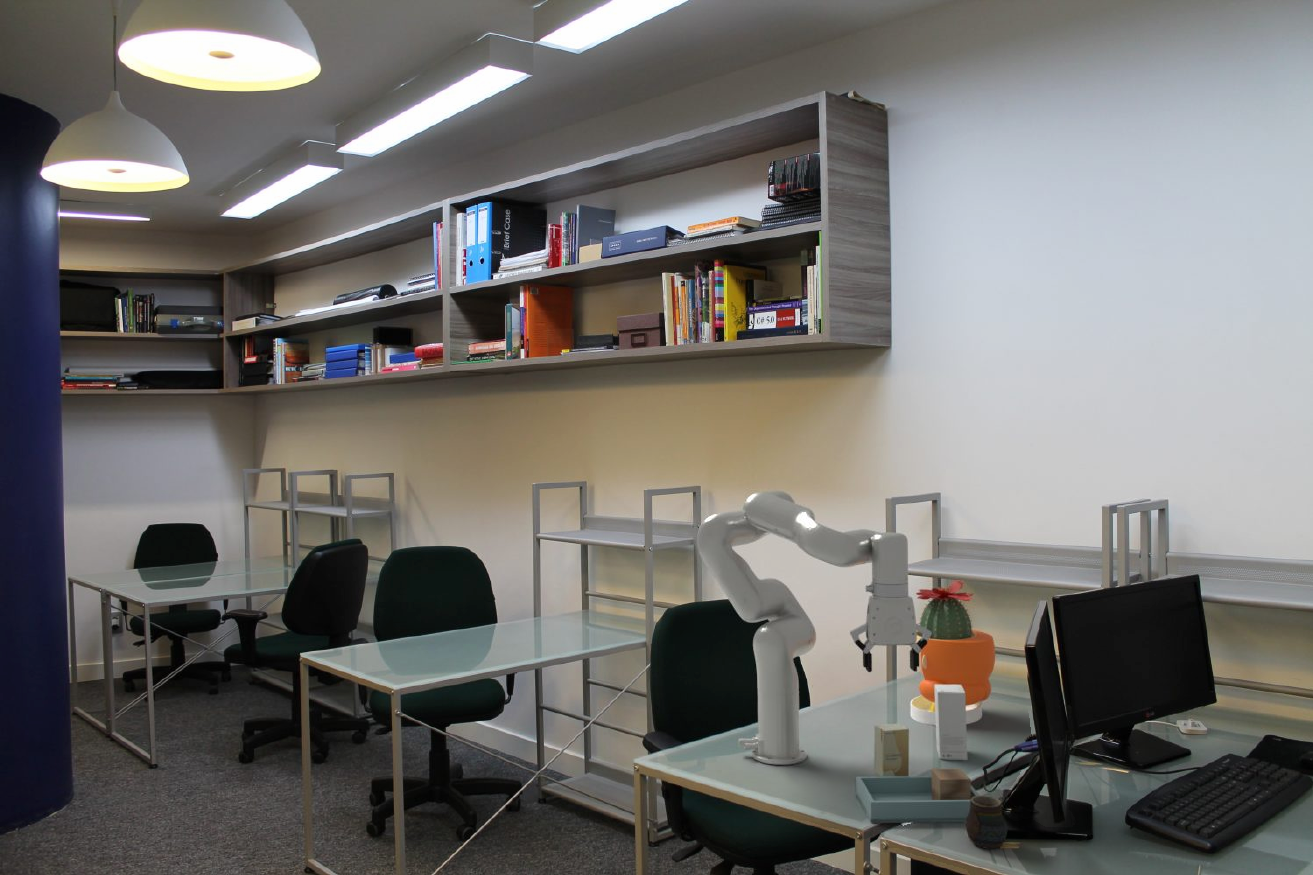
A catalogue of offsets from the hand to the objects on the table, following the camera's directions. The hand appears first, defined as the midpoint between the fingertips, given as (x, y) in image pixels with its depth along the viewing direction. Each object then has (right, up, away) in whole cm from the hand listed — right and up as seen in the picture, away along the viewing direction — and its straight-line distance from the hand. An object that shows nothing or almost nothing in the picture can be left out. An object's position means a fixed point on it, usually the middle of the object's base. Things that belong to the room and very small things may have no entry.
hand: (891, 670), depth 208 cm
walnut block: (+9, -23, -14) cm, 29 cm away
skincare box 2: (+18, -24, +18) cm, 35 cm away
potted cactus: (+28, -24, +48) cm, 61 cm away
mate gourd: (+10, -25, -31) cm, 41 cm away
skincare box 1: (0, -25, 0) cm, 25 cm away
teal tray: (+2, -24, -14) cm, 28 cm away
